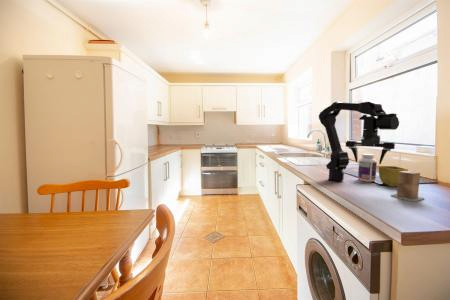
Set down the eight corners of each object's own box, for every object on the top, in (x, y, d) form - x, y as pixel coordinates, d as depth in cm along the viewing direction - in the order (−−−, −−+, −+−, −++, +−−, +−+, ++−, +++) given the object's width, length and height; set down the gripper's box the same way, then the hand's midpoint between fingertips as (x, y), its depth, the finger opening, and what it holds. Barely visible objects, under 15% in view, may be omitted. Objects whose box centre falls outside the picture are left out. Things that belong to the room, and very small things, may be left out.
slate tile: (390, 196, 93) (390, 194, 93) (401, 193, 96) (401, 192, 96) (413, 201, 86) (413, 200, 86) (424, 199, 89) (424, 197, 89)
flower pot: (407, 187, 107) (408, 169, 106) (388, 187, 107) (390, 168, 107) (393, 183, 116) (395, 166, 115) (376, 182, 116) (378, 165, 115)
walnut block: (396, 195, 92) (399, 171, 91) (403, 193, 94) (405, 170, 93) (411, 198, 88) (413, 173, 87) (417, 197, 90) (420, 172, 89)
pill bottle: (370, 179, 125) (372, 153, 123) (378, 182, 117) (380, 155, 115) (354, 178, 125) (356, 153, 124) (362, 182, 117) (364, 155, 116)
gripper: (344, 129, 102) (342, 163, 103) (395, 129, 90) (392, 167, 92) (348, 129, 111) (346, 160, 112) (396, 129, 99) (393, 164, 100)
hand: (367, 163), depth 104 cm, fingers open, 9 cm apart
